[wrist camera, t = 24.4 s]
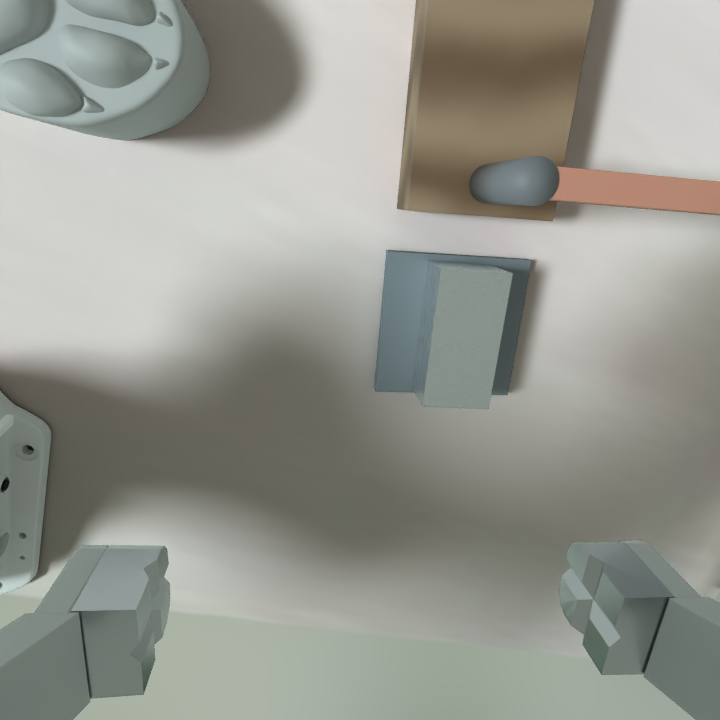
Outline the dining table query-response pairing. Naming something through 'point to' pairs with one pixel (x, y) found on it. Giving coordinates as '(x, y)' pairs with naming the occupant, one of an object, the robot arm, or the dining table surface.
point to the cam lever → (589, 187)
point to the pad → (405, 310)
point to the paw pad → (101, 64)
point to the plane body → (488, 96)
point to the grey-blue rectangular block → (459, 334)
